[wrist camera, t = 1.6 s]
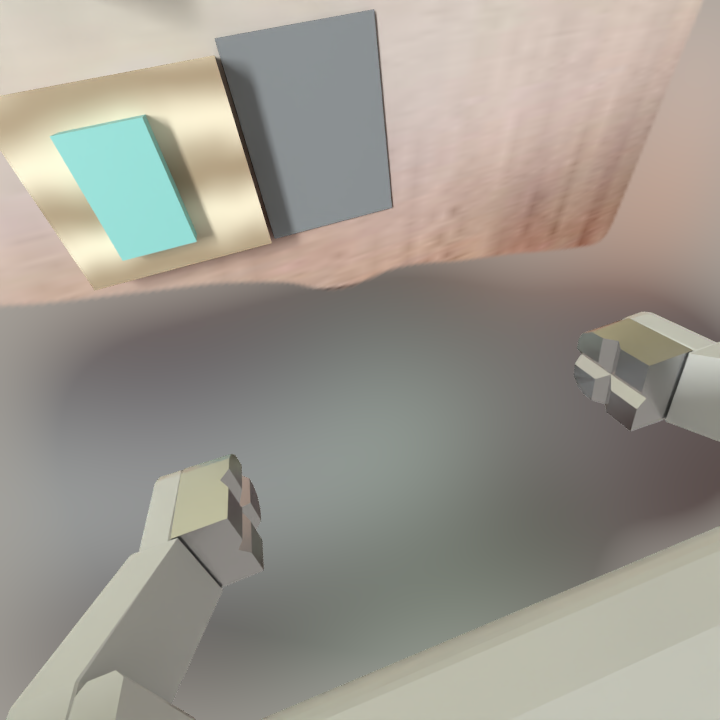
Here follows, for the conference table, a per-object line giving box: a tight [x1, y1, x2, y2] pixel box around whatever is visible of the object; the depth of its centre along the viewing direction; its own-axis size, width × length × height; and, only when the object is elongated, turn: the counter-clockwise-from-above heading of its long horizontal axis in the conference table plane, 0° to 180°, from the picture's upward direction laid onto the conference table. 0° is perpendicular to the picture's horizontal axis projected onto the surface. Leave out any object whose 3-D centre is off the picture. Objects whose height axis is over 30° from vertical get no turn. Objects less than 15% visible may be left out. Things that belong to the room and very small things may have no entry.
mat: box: [215, 9, 392, 239], centre depth 36 cm, size 16×13×1 cm
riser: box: [0, 56, 272, 290], centre depth 32 cm, size 14×16×4 cm
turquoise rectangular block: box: [50, 115, 197, 261], centre depth 30 cm, size 9×6×2 cm, turn 9°
